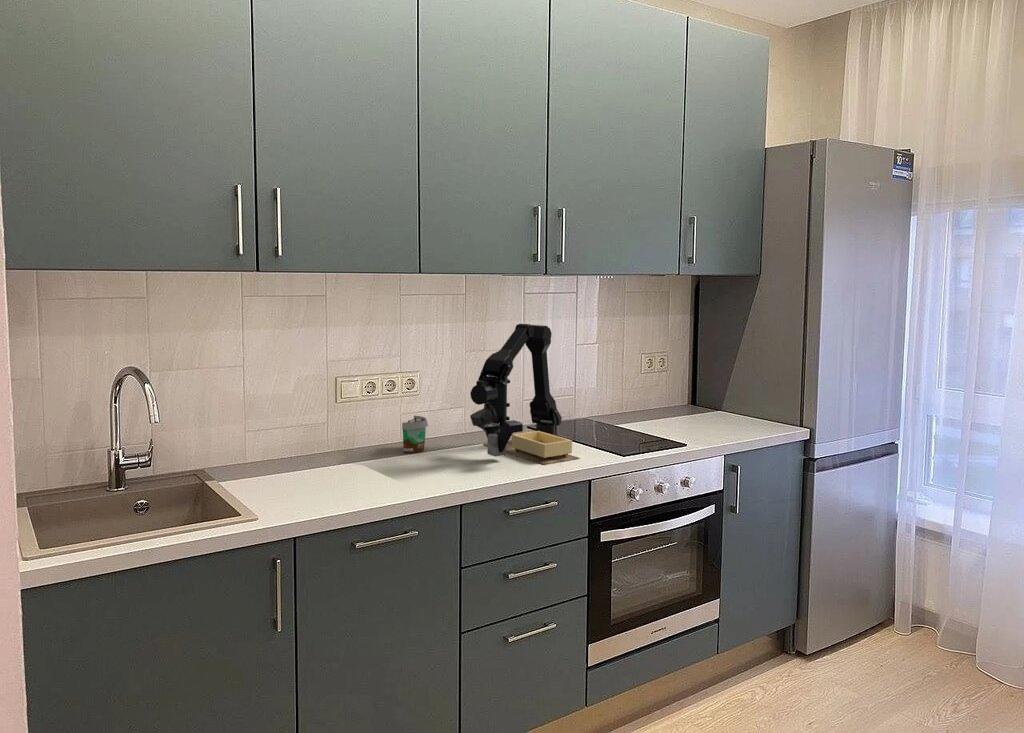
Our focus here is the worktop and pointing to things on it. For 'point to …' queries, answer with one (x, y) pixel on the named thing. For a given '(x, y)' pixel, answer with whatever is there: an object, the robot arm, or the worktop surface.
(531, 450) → the wooden tray
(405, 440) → the food container
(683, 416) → the worktop surface
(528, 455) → the brown board
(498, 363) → the robot arm
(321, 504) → the worktop surface
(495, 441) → the charcoal block
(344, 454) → the worktop surface
